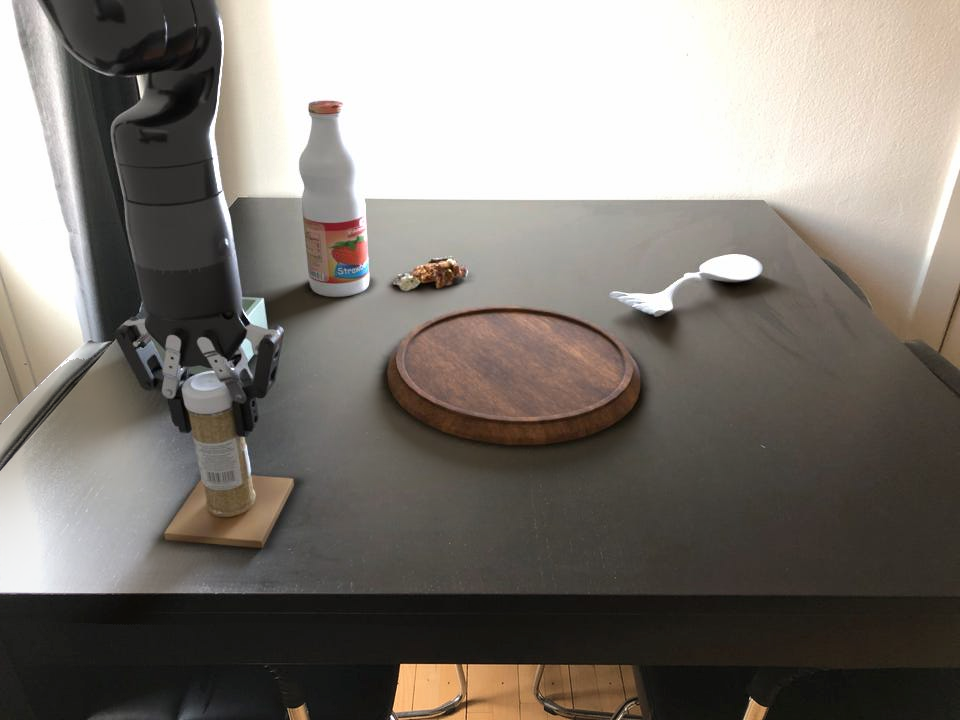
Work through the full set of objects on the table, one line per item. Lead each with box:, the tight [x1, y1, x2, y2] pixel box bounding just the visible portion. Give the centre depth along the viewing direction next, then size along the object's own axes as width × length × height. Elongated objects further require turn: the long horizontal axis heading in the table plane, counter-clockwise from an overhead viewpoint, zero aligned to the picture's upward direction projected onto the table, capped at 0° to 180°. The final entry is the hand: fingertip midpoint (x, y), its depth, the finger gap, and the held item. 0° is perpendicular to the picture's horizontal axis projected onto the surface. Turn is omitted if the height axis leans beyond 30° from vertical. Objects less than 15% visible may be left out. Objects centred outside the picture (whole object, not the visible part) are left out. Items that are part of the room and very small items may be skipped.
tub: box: [151, 296, 269, 375], centre depth 96 cm, size 12×12×6 cm
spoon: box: [609, 253, 764, 318], centre depth 117 cm, size 9×32×4 cm, turn 131°
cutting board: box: [386, 305, 642, 446], centre depth 94 cm, size 32×32×3 cm
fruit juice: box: [298, 100, 370, 298], centre depth 111 cm, size 9×9×28 cm
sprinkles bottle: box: [182, 371, 256, 517], centre depth 67 cm, size 5×5×13 cm
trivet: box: [163, 474, 295, 549], centre depth 70 cm, size 9×9×1 cm
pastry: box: [393, 255, 469, 292], centre depth 119 cm, size 7×12×4 cm, turn 128°
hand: (217, 429), depth 66 cm, fingers closed on sprinkles bottle, 4 cm apart
